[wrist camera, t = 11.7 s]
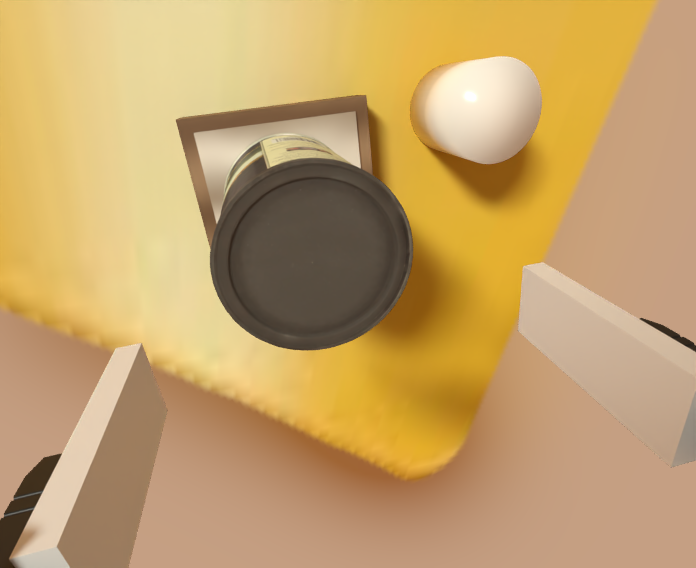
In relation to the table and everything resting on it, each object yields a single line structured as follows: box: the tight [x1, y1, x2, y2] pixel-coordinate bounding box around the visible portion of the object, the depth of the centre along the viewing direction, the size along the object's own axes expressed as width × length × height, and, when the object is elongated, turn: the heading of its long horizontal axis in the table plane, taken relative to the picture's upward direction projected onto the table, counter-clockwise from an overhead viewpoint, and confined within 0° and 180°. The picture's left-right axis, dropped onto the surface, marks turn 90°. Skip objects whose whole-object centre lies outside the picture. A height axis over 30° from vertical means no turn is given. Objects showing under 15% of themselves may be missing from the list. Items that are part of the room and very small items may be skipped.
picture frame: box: [176, 95, 373, 249], centre depth 35 cm, size 14×14×3 cm
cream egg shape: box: [410, 56, 542, 164], centre depth 33 cm, size 7×7×8 cm
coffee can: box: [210, 133, 413, 350], centre depth 27 cm, size 10×10×14 cm
